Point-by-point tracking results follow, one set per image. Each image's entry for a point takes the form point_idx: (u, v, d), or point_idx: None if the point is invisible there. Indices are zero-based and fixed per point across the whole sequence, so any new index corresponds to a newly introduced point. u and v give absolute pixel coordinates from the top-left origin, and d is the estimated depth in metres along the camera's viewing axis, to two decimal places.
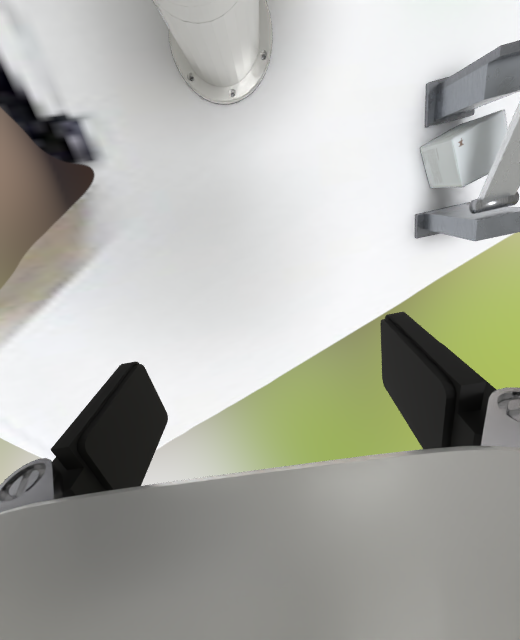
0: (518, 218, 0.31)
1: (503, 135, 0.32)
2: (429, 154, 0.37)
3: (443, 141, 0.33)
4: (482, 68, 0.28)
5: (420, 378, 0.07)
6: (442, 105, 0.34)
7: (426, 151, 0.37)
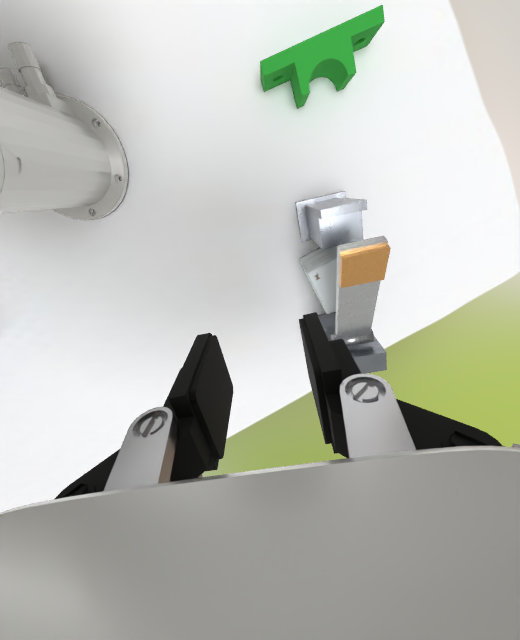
0: (372, 360, 0.30)
1: None
2: None
3: (305, 269, 0.32)
4: (317, 219, 0.26)
5: (311, 368, 0.09)
6: (309, 227, 0.33)
7: None
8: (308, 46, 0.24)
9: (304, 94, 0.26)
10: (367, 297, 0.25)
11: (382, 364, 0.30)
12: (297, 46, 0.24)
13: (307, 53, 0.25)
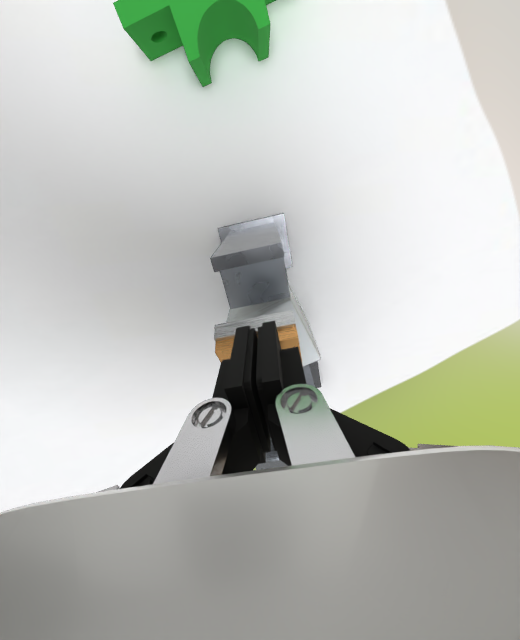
0: None
1: (298, 331, 0.21)
2: None
3: None
4: None
5: None
6: None
7: None
8: None
9: (192, 60, 0.16)
10: None
11: None
12: None
13: None
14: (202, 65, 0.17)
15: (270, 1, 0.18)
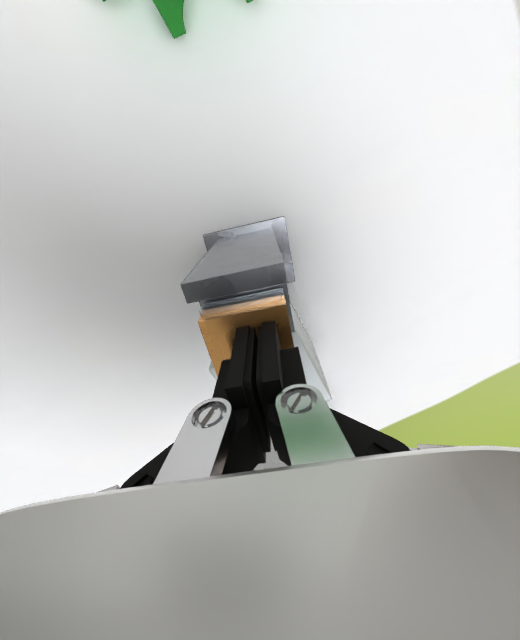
0: None
1: (303, 366, 0.17)
2: None
3: None
4: None
5: None
6: None
7: None
8: None
9: None
10: None
11: None
12: None
13: None
14: None
15: None
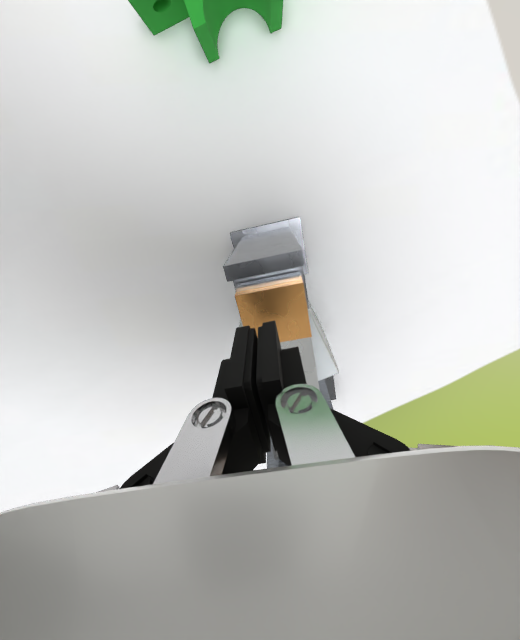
0: None
1: (315, 343, 0.20)
2: None
3: None
4: None
5: None
6: None
7: None
8: None
9: (197, 26, 0.15)
10: None
11: None
12: None
13: None
14: (208, 34, 0.16)
15: None
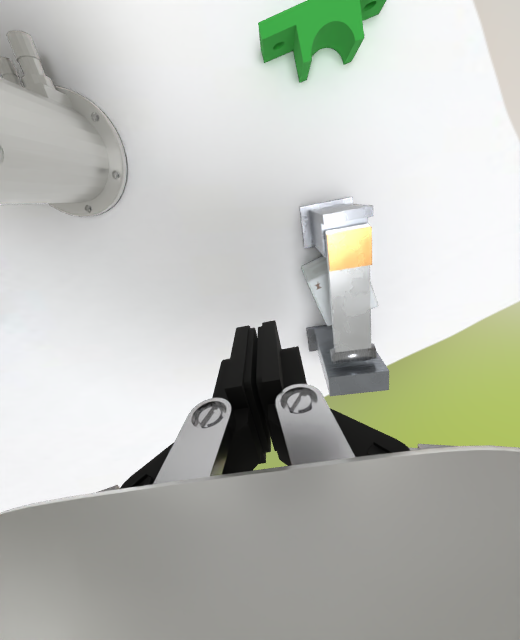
0: (374, 378, 0.27)
1: None
2: None
3: (306, 277, 0.30)
4: (320, 225, 0.25)
5: None
6: (312, 233, 0.31)
7: None
8: (311, 6, 0.22)
9: (306, 61, 0.23)
10: (360, 291, 0.25)
11: (384, 383, 0.28)
12: (299, 6, 0.22)
13: (310, 14, 0.22)
14: (309, 66, 0.24)
15: None
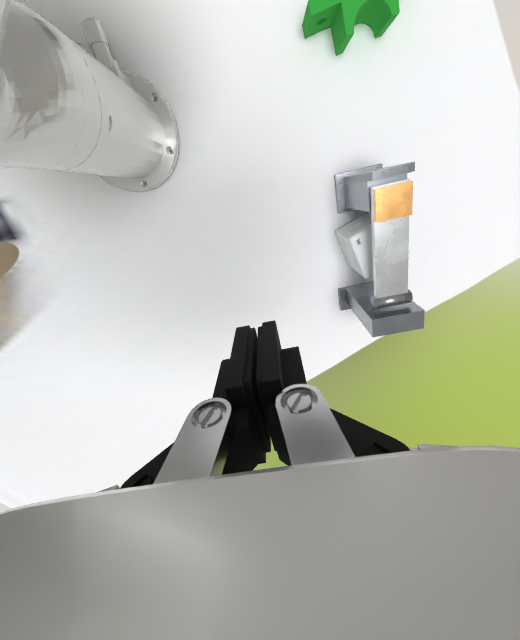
0: (411, 318, 0.32)
1: None
2: (341, 240, 0.37)
3: (345, 236, 0.34)
4: (365, 183, 0.29)
5: None
6: (348, 197, 0.35)
7: (338, 236, 0.38)
8: None
9: (348, 35, 0.27)
10: (400, 240, 0.29)
11: (420, 322, 0.32)
12: None
13: None
14: (349, 39, 0.28)
15: None
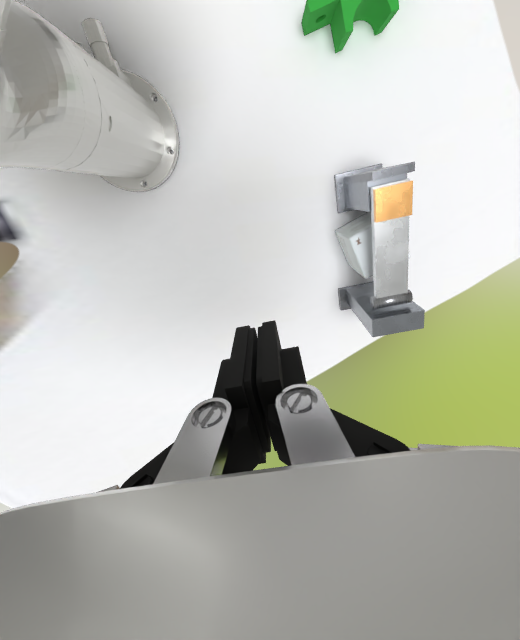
0: (411, 318, 0.32)
1: None
2: (341, 240, 0.37)
3: (345, 236, 0.34)
4: (365, 183, 0.29)
5: None
6: (348, 197, 0.35)
7: (338, 236, 0.38)
8: None
9: (348, 31, 0.27)
10: (400, 240, 0.29)
11: (420, 322, 0.32)
12: None
13: None
14: None
15: None
